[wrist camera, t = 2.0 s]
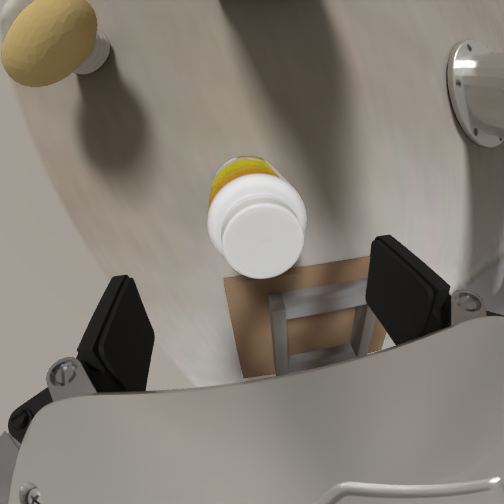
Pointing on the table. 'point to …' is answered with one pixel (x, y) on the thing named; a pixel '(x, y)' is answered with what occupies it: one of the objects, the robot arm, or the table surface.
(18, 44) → the light bulb
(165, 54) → the table surface
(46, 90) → the table surface
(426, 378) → the robot arm
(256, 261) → the supplement bottle
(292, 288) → the collar board
